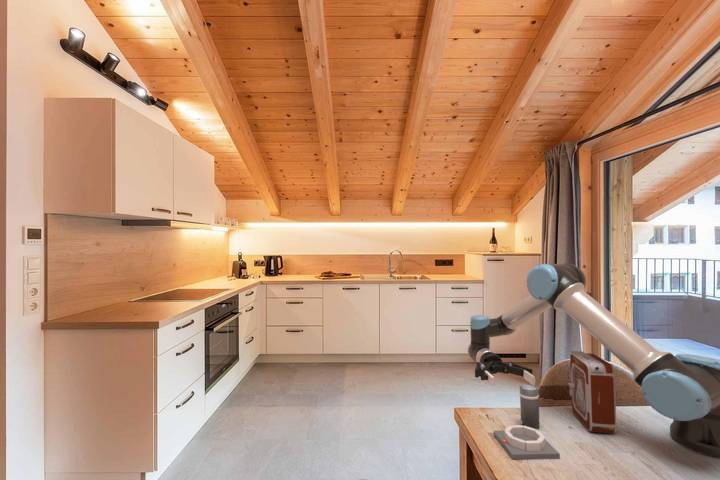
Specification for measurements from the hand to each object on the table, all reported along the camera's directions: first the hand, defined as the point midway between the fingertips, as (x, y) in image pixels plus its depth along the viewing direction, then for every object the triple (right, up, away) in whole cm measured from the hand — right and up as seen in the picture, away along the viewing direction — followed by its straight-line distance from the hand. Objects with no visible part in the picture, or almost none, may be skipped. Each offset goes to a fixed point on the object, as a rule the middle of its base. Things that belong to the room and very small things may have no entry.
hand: (513, 381), depth 117 cm
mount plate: (-6, -9, -22) cm, 24 cm away
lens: (0, -9, -10) cm, 14 cm away
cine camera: (+20, -9, -7) cm, 23 cm away
